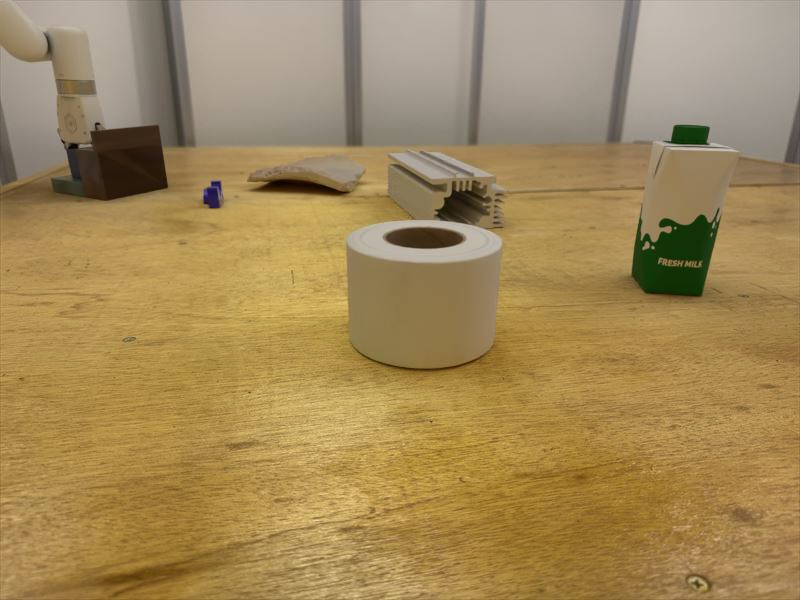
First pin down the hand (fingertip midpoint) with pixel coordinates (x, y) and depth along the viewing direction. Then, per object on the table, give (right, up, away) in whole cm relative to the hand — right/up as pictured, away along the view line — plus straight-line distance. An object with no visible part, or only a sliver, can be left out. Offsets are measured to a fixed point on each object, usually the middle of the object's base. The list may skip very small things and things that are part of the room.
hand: (90, 169), depth 126 cm
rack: (+5, -5, 0) cm, 7 cm away
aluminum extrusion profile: (+79, -12, -15) cm, 81 cm away
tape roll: (+73, -34, -67) cm, 105 cm away
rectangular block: (+1, -1, +1) cm, 2 cm away
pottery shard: (+50, -2, +7) cm, 50 cm away
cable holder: (+32, -10, -12) cm, 36 cm away
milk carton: (+106, -28, -53) cm, 122 cm away
